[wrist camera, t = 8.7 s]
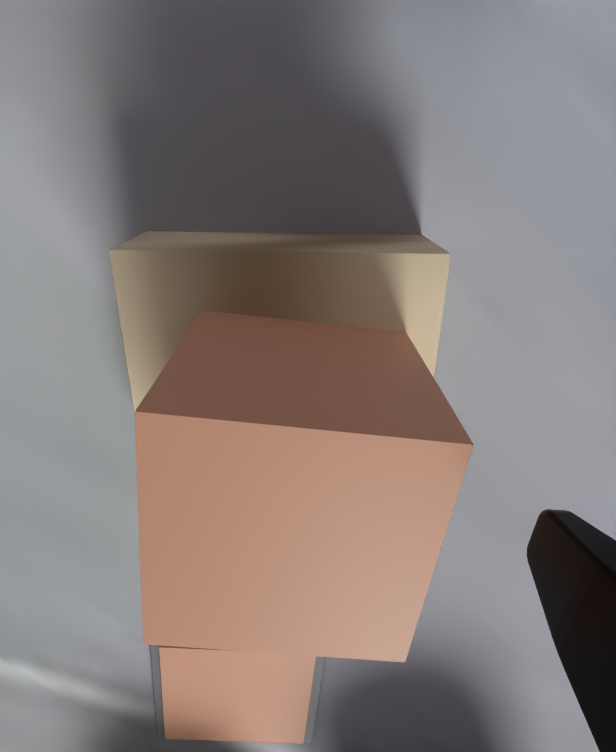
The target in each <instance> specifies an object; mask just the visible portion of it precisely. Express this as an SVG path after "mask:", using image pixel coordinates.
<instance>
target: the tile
mask: <svg viewBox="0 0 616 752" xmlns="http://www.w3.org/2000/svg"><path fill="white" fill-rule="evenodd" d="M150 650H151V663H152V675H153V688H154V700H155V713H156V725H157V737H158V739H169V740H199V741H230V742H261V743H292V744H312V738H313V732H314V725H315V719H316V713H317V706H318V700H319V693H320V687H321V681H322V674H323V668H324V661H325V657H320V656H305V655H291V654H277V653H262V652H248V651H233V650H219V649H204V648H190V647H175V646H161V645H150Z"/></svg>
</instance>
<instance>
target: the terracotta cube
mask: <svg viewBox="0 0 616 752" xmlns="http://www.w3.org/2000/svg"><path fill="white" fill-rule="evenodd" d="M135 430H136V458H137V485H138V512H139V540H140V567H141V595H142V622H143V644H146V645H161V646H175V647H190V648H204V649H219V650H233V651H248V652H262V653H277V654H291V655H305V656H320V657H334V658H349V659H363V660H378V661H392V662H406V658H407V655H408V652H409V649H410V646H411V642H412V639H413V636H414V633H415V630H416V626H417V623H418V620H419V617H420V614H421V611H422V607H423V604H424V601H425V598H426V595H427V591H428V588H429V585H430V582H431V579H432V576H433V572H434V569H435V566H436V563H437V560H438V556H439V553H440V550H441V547H442V544H443V541H444V537H445V534H446V531H447V528H448V525H449V521H450V518H451V515H452V512H453V509H454V506H455V502H456V499H457V496H458V493H459V490H460V486H461V483H462V480H463V477H464V474H465V470H466V467H467V464H468V461H469V458H470V455H471V451H472V448H473V443H472V441H471V440H470V438H469V436H468V435H467V433H466V431H465V430H464V428H463V426H462V425H461V423H460V421H459V420H458V418H457V416H456V415H455V413H454V411H453V410H452V408H451V406H450V405H449V403H448V401H447V399H446V398H445V396H444V394H443V393H442V391H441V389H440V388H439V386H438V384H437V383H436V381H435V379H434V378H433V376H432V374H431V373H430V371H429V369H428V368H427V366H426V364H425V363H424V361H423V359H422V358H421V356H420V354H419V353H418V351H417V349H416V348H415V346H414V344H413V343H412V341H411V339H410V337H409V336H408V334H407V333H404V332H395V331H386V330H377V329H368V328H359V327H350V326H341V325H332V324H323V323H314V322H305V321H296V320H287V319H278V318H269V317H260V316H251V315H241V314H232V313H223V312H214V311H205V310H201V312H200V314H199V315H198V317H197V318H196V320H195V321H194V323H193V324H192V326H191V327H190V329H189V330H188V332H187V333H186V335H185V336H184V338H183V339H182V341H181V342H180V344H179V345H178V347H177V348H176V350H175V351H174V353H173V354H172V356H171V357H170V359H169V361H168V362H167V364H166V365H165V367H164V368H163V370H162V371H161V373H160V374H159V376H158V377H157V379H156V380H155V382H154V383H153V385H152V386H151V388H150V389H149V391H148V392H147V394H146V395H145V397H144V398H143V400H142V401H141V403H140V404H139V406H138V408H137V409H136V411H135Z"/></svg>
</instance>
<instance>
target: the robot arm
mask: <svg viewBox="0 0 616 752" xmlns="http://www.w3.org/2000/svg"><path fill="white" fill-rule="evenodd" d="M527 559H528V563H529V566H530V569H531V572H532V576H533V579H534V582H535V585H536V588H537V591H538V594H539V597H540V601H541V604H542V607H543V610H544V613H545V616H546V619H547V622H548V626H549V629H550V632H551V635H552V638H553V641H554V644H555V646H556V649H557V652H558V655H559V657H560V660H561V662H562V665H563V667H564V669H565V672H566V674H567V677H568V679H569V681H570V683H571V686H572V688H573V690H574V693H575V695H576V697H577V700H578V702H579V704H580V707H581V709H582V711H583V714H584V716H585V718H586V721H587V723H588V725H589V728H590V730H591V732H592V735H593V737H594V739H595V742H596V744H597V746H598V749H599V751H600V752H616V541H615V540H614V539H612V538H611V537H609V536H608V535H606V534H605V533H603V532H601V531H600V530H598V529H597V528H595V527H594V526H592V525H590V524H589V523H587V522H586V521H584V520H583V519H581V518H580V517H578V516H576V515H575V514H573V513H572V512H569V511H565V510H549V509H548V510H544V511H542V512H541V513H540V515H539V517H538V519H537V522H536V525H535V527H534V530H533V533H532V535H531V538H530V541H529V543H528V547H527Z"/></svg>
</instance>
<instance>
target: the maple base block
mask: <svg viewBox="0 0 616 752" xmlns="http://www.w3.org/2000/svg"><path fill="white" fill-rule="evenodd" d="M109 256H110V262H111V268H112V274H113V281H114V287H115V293H116V299H117V305H118V312H119V318H120V324H121V330H122V336H123V343H124V349H125V355H126V361H127V367H128V374H129V380H130V386H131V392H132V398H133V405H134V411H136V409H137V408H138V406H139V404H140V403H141V401H142V400H143V398H144V397H145V395H146V394H147V392H148V391H149V389H150V388H151V386H152V385H153V383H154V382H155V380H156V379H157V377H158V376H159V374H160V373H161V371H162V370H163V368H164V367H165V365H166V364H167V362H168V361H169V359H170V357H171V356H172V354H173V353H174V351H175V350H176V348H177V347H178V345H179V344H180V342H181V341H182V339H183V338H184V336H185V335H186V333H187V332H188V330H189V329H190V327H191V326H192V324H193V323H194V321H195V320H196V318H197V317H198V315H199V314H200V312H201V310H205V311H214V312H223V313H232V314H241V315H251V316H260V317H269V318H278V319H287V320H296V321H305V322H314V323H323V324H332V325H341V326H350V327H359V328H368V329H377V330H386V331H395V332H404V333H407V334H408V336H409V337H410V339H411V341H412V343H413V344H414V346H415V348H416V349H417V351H418V353H419V354H420V356H421V358H422V359H423V361H424V363H425V364H426V366H427V368H428V369H429V371H430V373H431V374H432V376H433V378H434V372H435V365H436V358H437V351H438V343H439V336H440V329H441V322H442V315H443V308H444V301H445V294H446V286H447V279H448V272H449V265H450V258H451V254H450V253H449V252H447V251H446V250H444V249H443V248H441V247H440V246H438V245H437V244H435V243H434V242H432V241H431V240H429V239H428V238H426V237H425V236H423V235H417V234H336V233H254V232H173V231H146V232H144V233H142V234H140V235H138V236H136V237H134V238H132V239H130V240H128V241H126V242H124V243H122V244H120V245H118V246H116V247H114V248H112V249H110V250H109Z"/></svg>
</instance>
